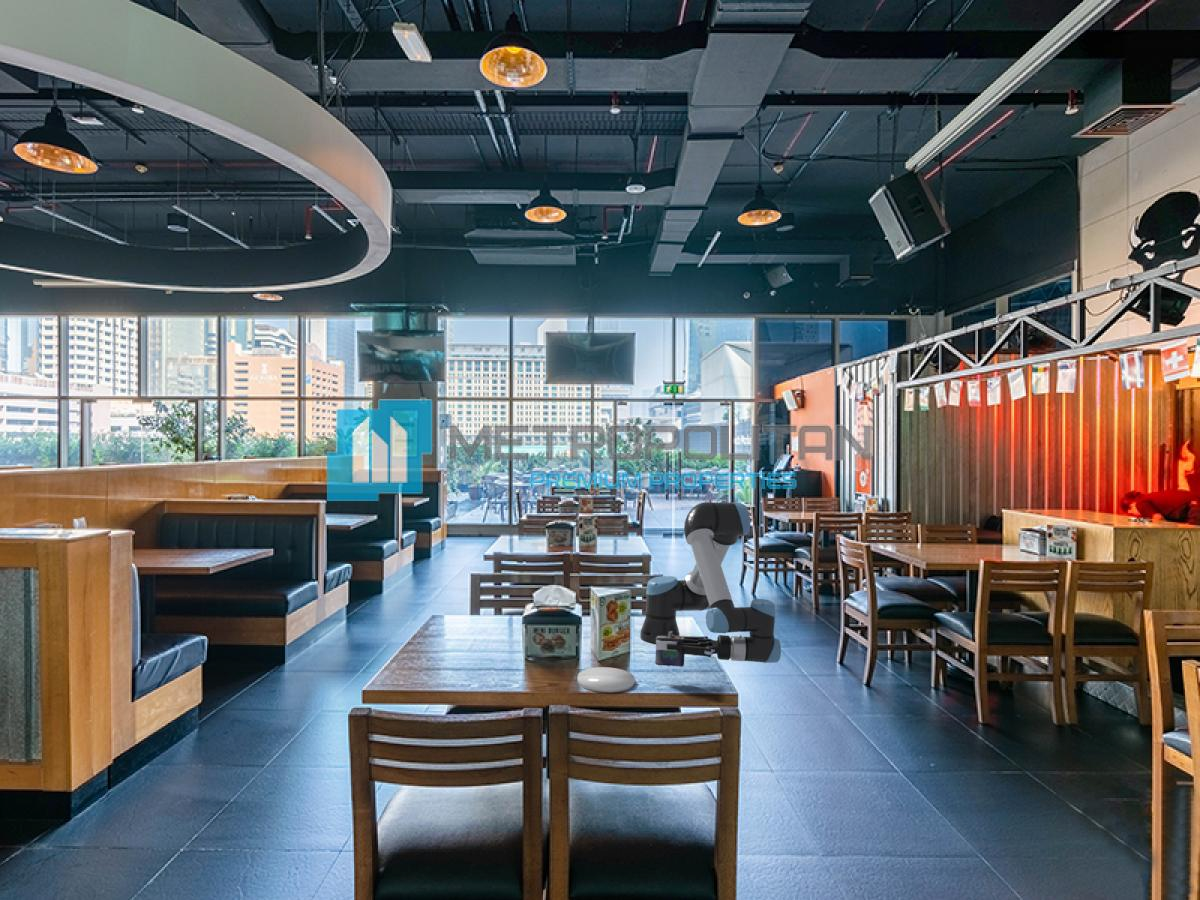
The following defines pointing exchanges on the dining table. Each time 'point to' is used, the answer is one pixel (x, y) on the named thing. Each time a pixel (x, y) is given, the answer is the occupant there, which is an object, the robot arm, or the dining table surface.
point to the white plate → (606, 679)
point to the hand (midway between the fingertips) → (656, 643)
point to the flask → (669, 652)
